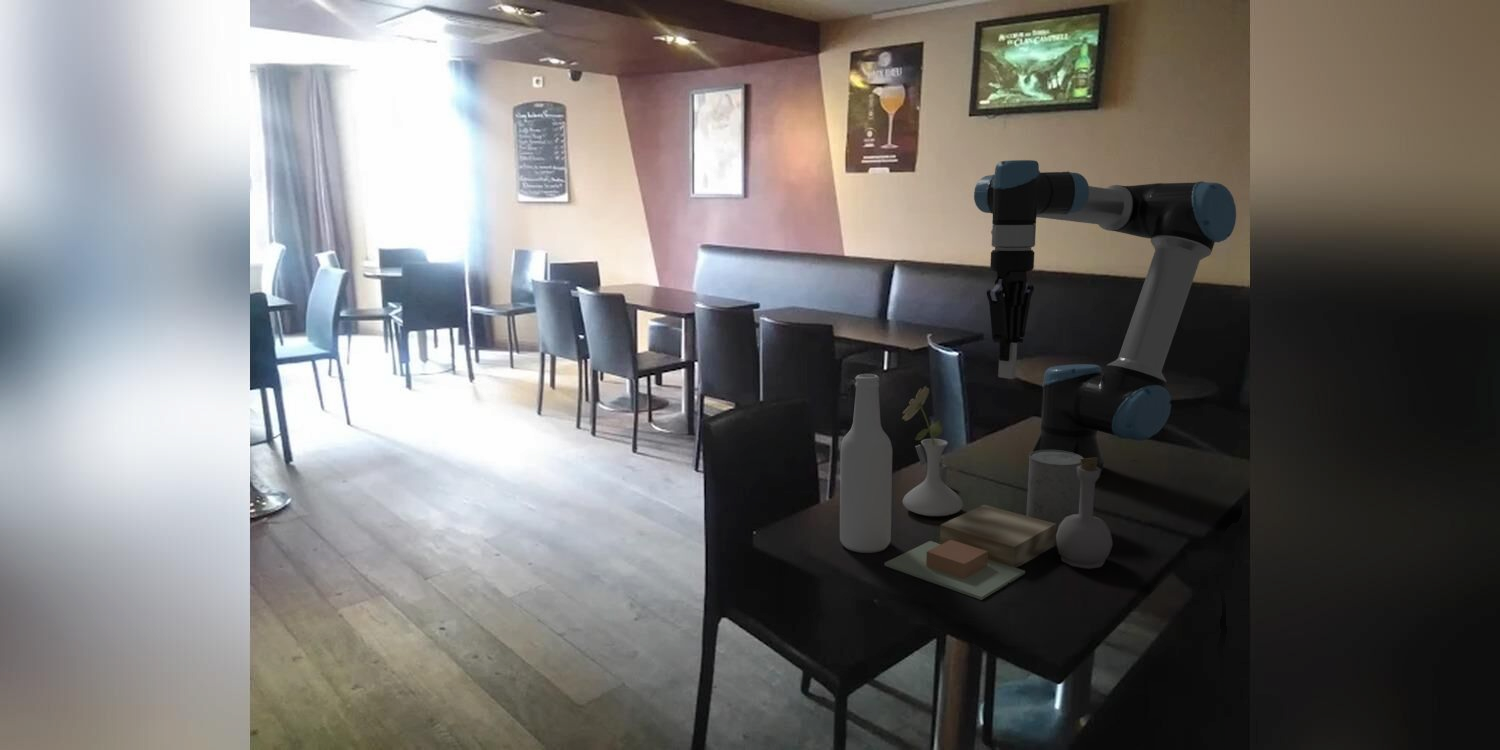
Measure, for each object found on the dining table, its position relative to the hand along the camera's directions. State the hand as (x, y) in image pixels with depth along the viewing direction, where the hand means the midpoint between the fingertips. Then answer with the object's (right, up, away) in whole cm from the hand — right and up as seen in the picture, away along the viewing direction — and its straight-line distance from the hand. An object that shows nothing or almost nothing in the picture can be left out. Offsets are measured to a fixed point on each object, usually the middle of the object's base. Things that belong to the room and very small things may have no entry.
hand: (1006, 377), depth 162 cm
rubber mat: (-14, -31, -20) cm, 40 cm away
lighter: (-9, -23, +23) cm, 34 cm away
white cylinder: (+9, -27, +1) cm, 28 cm away
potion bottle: (+8, -30, -17) cm, 36 cm away
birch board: (-5, -29, -11) cm, 31 cm away
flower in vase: (-13, -26, +6) cm, 30 cm away
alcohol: (-27, -29, -9) cm, 41 cm away
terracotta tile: (-14, -31, -20) cm, 39 cm away
